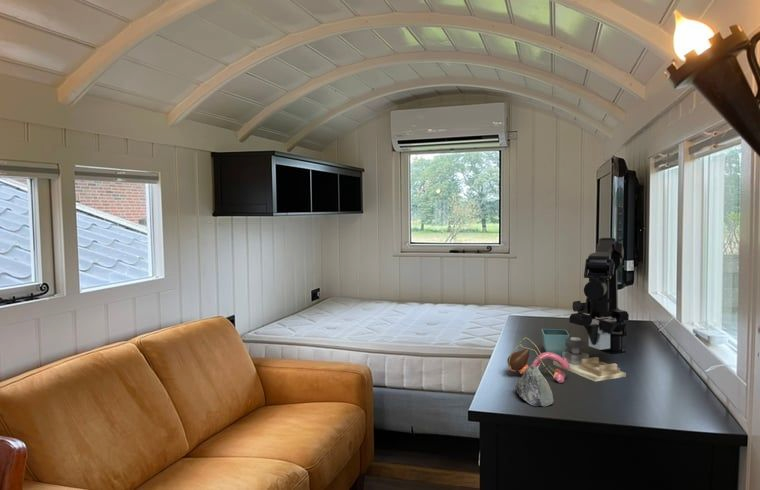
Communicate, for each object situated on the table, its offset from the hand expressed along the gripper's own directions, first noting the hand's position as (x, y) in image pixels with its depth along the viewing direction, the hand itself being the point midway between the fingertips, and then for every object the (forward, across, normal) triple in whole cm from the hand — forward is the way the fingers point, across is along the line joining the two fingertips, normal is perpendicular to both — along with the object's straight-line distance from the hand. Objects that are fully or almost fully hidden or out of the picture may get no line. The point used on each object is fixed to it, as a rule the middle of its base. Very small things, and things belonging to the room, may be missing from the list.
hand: (599, 343), depth 169 cm
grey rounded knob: (+6, 0, -11) cm, 12 cm away
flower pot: (+10, -1, -23) cm, 25 cm away
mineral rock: (+10, +32, +10) cm, 35 cm away
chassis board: (+10, 0, -5) cm, 11 cm away
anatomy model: (+10, +20, -4) cm, 23 cm away
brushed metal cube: (+1, 0, 0) cm, 1 cm away
